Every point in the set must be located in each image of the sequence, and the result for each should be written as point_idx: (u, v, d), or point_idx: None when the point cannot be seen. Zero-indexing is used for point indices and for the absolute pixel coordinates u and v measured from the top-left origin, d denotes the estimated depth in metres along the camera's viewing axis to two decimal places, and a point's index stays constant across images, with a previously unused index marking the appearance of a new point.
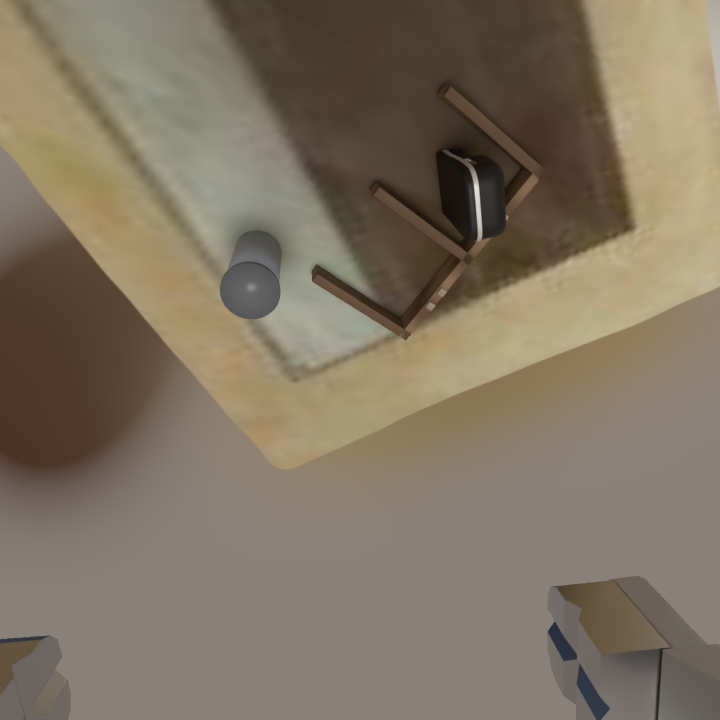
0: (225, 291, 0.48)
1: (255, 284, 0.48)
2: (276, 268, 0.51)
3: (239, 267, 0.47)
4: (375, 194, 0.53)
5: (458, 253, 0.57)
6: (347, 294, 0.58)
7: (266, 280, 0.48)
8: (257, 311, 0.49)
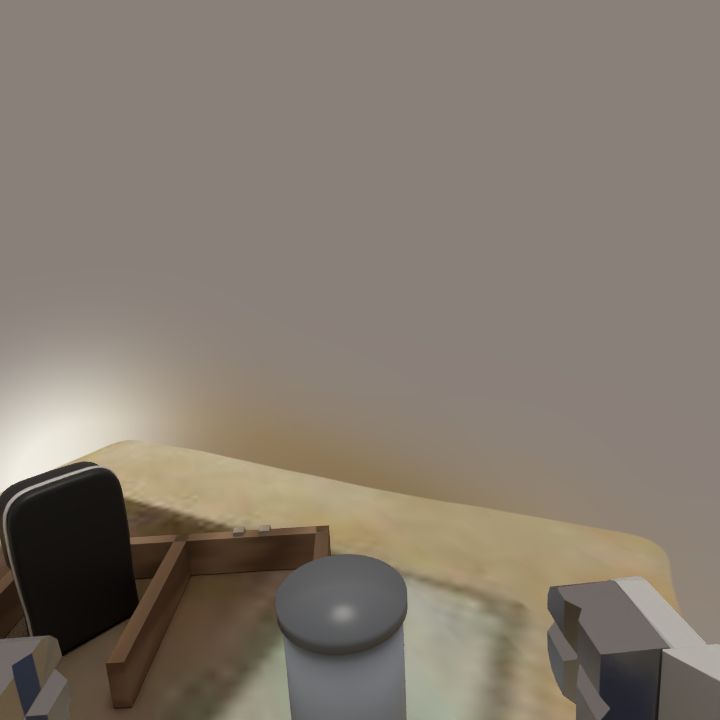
0: (371, 623, 0.20)
1: (318, 594, 0.22)
2: None
3: (300, 629, 0.20)
4: (120, 661, 0.29)
5: (178, 547, 0.40)
6: None
7: (297, 585, 0.22)
8: (370, 568, 0.23)
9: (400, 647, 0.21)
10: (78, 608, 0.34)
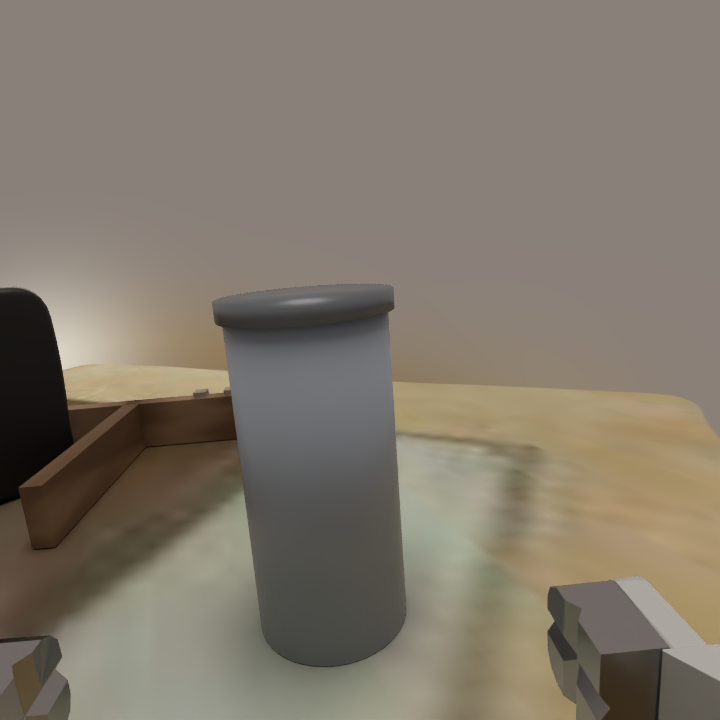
0: (343, 296, 0.14)
1: (272, 295, 0.16)
2: None
3: (242, 304, 0.14)
4: (38, 485, 0.23)
5: (128, 408, 0.34)
6: None
7: (245, 296, 0.17)
8: (345, 286, 0.18)
9: (386, 356, 0.15)
10: None
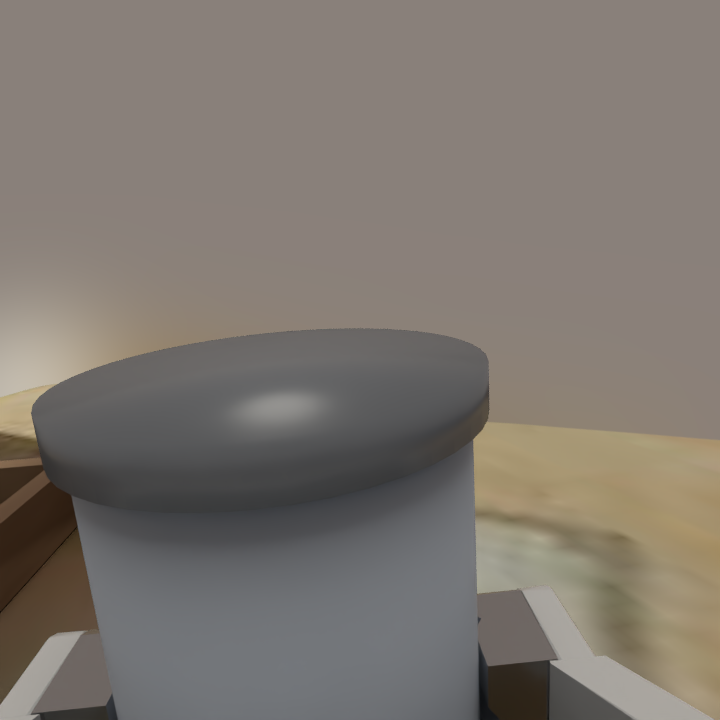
0: (374, 400, 0.05)
1: (200, 371, 0.07)
2: None
3: (85, 426, 0.05)
4: None
5: None
6: None
7: (145, 365, 0.07)
8: (366, 337, 0.08)
9: (471, 525, 0.06)
10: None
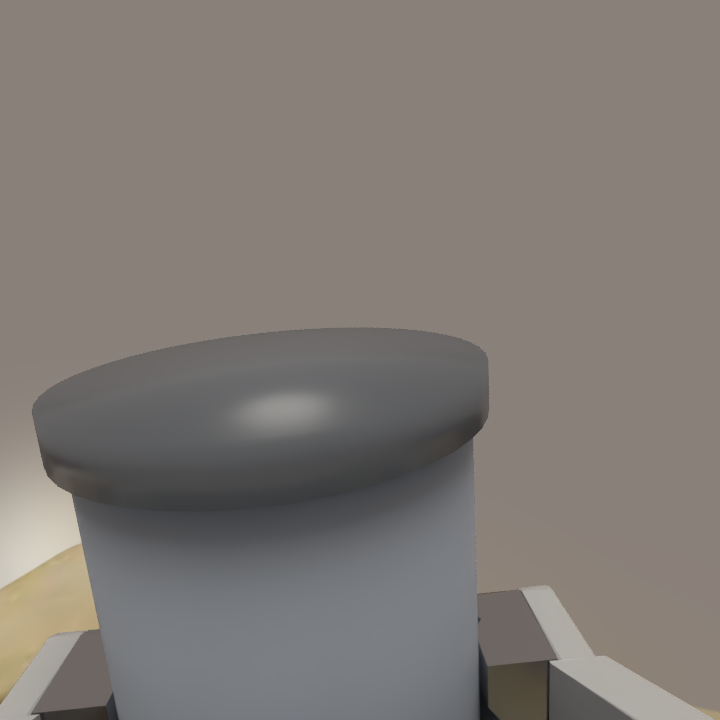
0: (374, 398, 0.05)
1: (200, 370, 0.07)
2: None
3: (84, 425, 0.05)
4: None
5: None
6: None
7: (146, 365, 0.07)
8: (366, 336, 0.08)
9: (471, 523, 0.06)
10: None
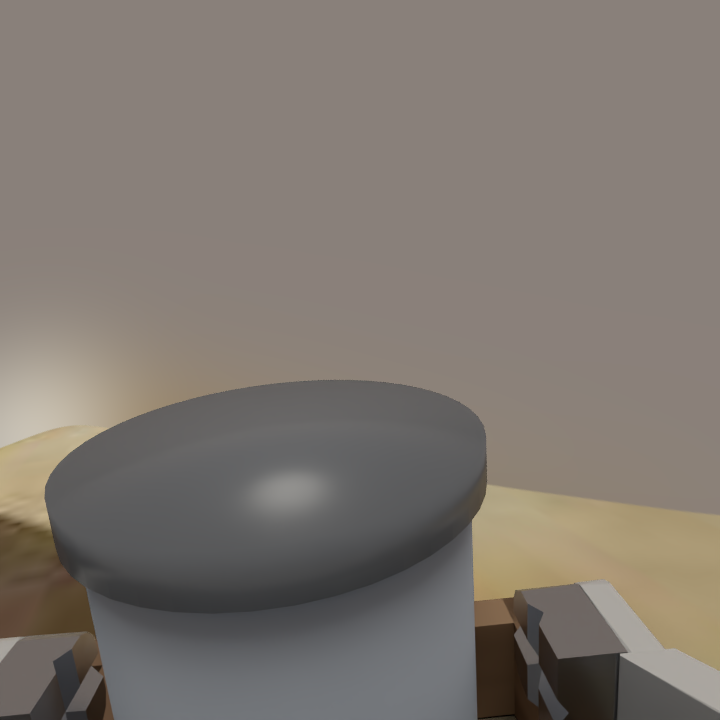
0: (375, 490, 0.05)
1: (206, 441, 0.07)
2: None
3: (97, 519, 0.05)
4: None
5: None
6: None
7: (153, 429, 0.08)
8: (366, 394, 0.09)
9: (470, 593, 0.07)
10: None
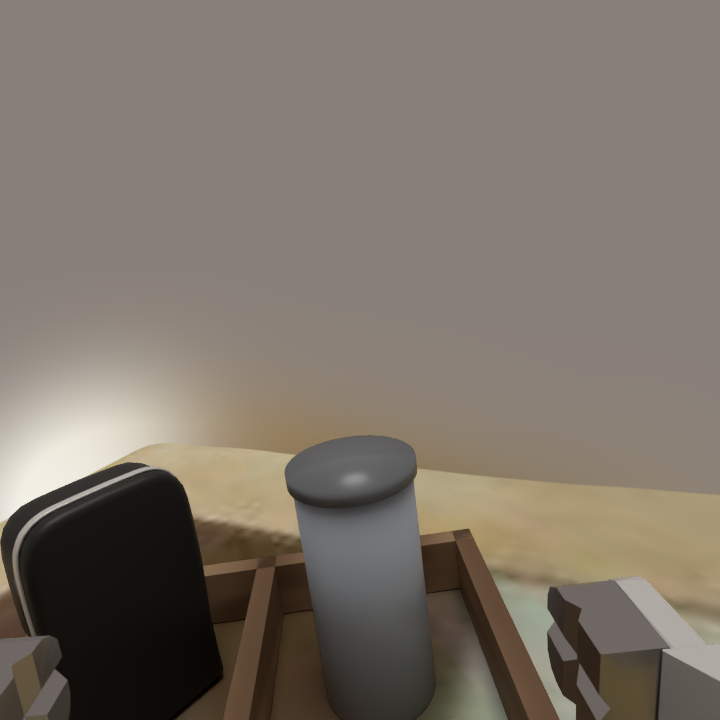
0: (382, 477, 0.20)
1: (327, 464, 0.22)
2: None
3: (311, 488, 0.20)
4: None
5: (266, 576, 0.28)
6: (503, 650, 0.21)
7: (306, 460, 0.22)
8: (378, 442, 0.23)
9: (413, 507, 0.21)
10: (140, 687, 0.22)
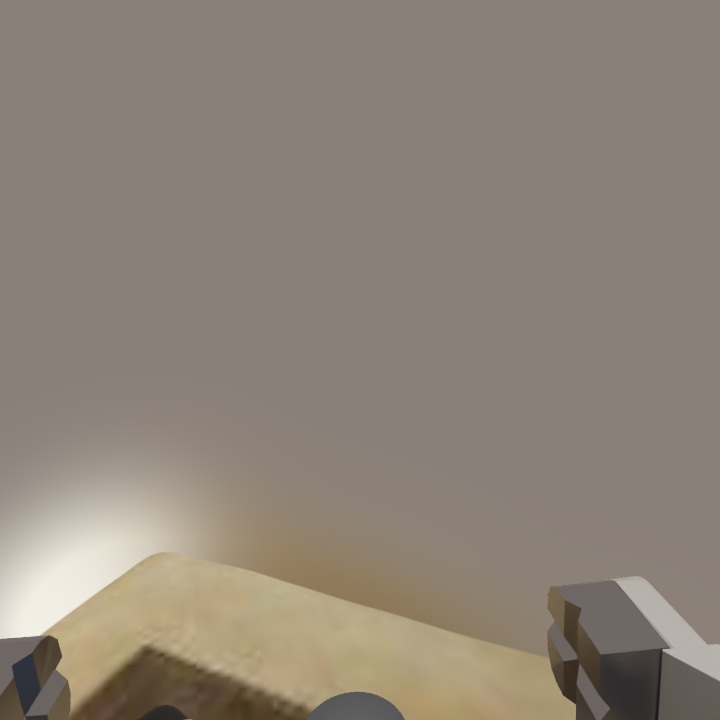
0: None
1: None
2: None
3: None
4: None
5: None
6: None
7: None
8: (377, 708, 0.27)
9: None
10: None
